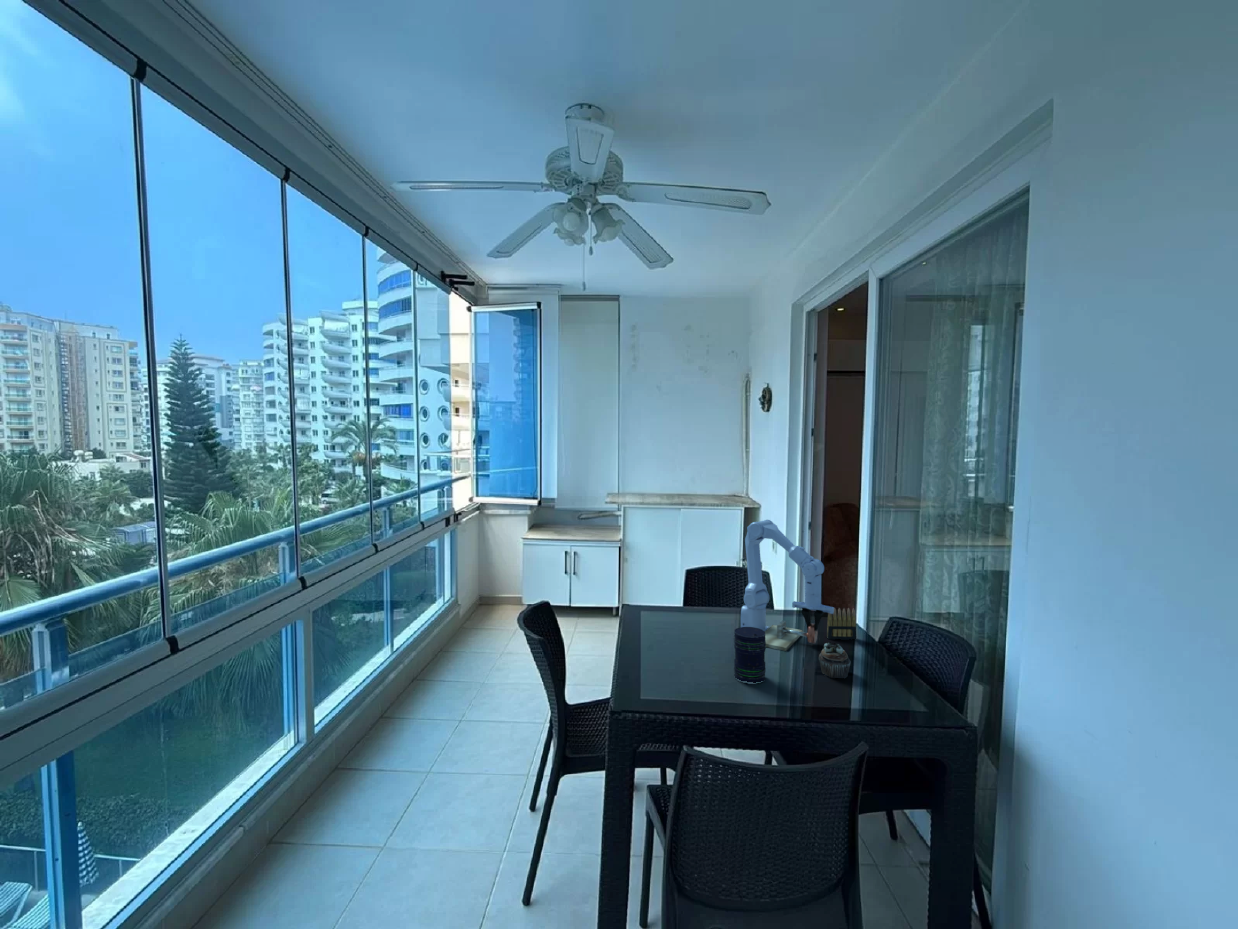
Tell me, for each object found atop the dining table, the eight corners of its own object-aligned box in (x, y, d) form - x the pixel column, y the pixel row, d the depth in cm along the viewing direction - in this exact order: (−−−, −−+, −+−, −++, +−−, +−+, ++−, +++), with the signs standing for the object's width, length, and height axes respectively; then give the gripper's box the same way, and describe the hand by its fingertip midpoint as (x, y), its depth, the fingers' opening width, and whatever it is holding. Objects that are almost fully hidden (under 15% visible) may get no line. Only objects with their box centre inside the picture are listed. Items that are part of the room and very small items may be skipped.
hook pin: (779, 639, 209) (780, 621, 209) (785, 634, 215) (785, 616, 215) (812, 646, 202) (812, 627, 202) (817, 640, 208) (817, 621, 208)
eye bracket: (753, 644, 207) (753, 628, 207) (772, 627, 225) (772, 612, 225) (786, 651, 200) (786, 634, 200) (802, 633, 219) (802, 617, 218)
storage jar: (727, 674, 180) (727, 629, 180) (752, 669, 184) (752, 625, 184) (746, 687, 171) (746, 639, 171) (772, 681, 175) (772, 634, 174)
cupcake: (853, 681, 175) (853, 650, 175) (821, 678, 177) (821, 647, 177) (847, 669, 184) (847, 639, 184) (816, 666, 186) (816, 637, 186)
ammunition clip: (854, 638, 213) (855, 607, 213) (856, 640, 211) (857, 608, 211) (826, 637, 214) (826, 606, 213) (827, 639, 212) (828, 608, 212)
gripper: (789, 592, 206) (789, 629, 206) (830, 598, 198) (830, 636, 198) (795, 588, 212) (795, 623, 212) (835, 594, 204) (834, 630, 204)
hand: (812, 629), depth 206 cm, fingers closed on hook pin, 2 cm apart
